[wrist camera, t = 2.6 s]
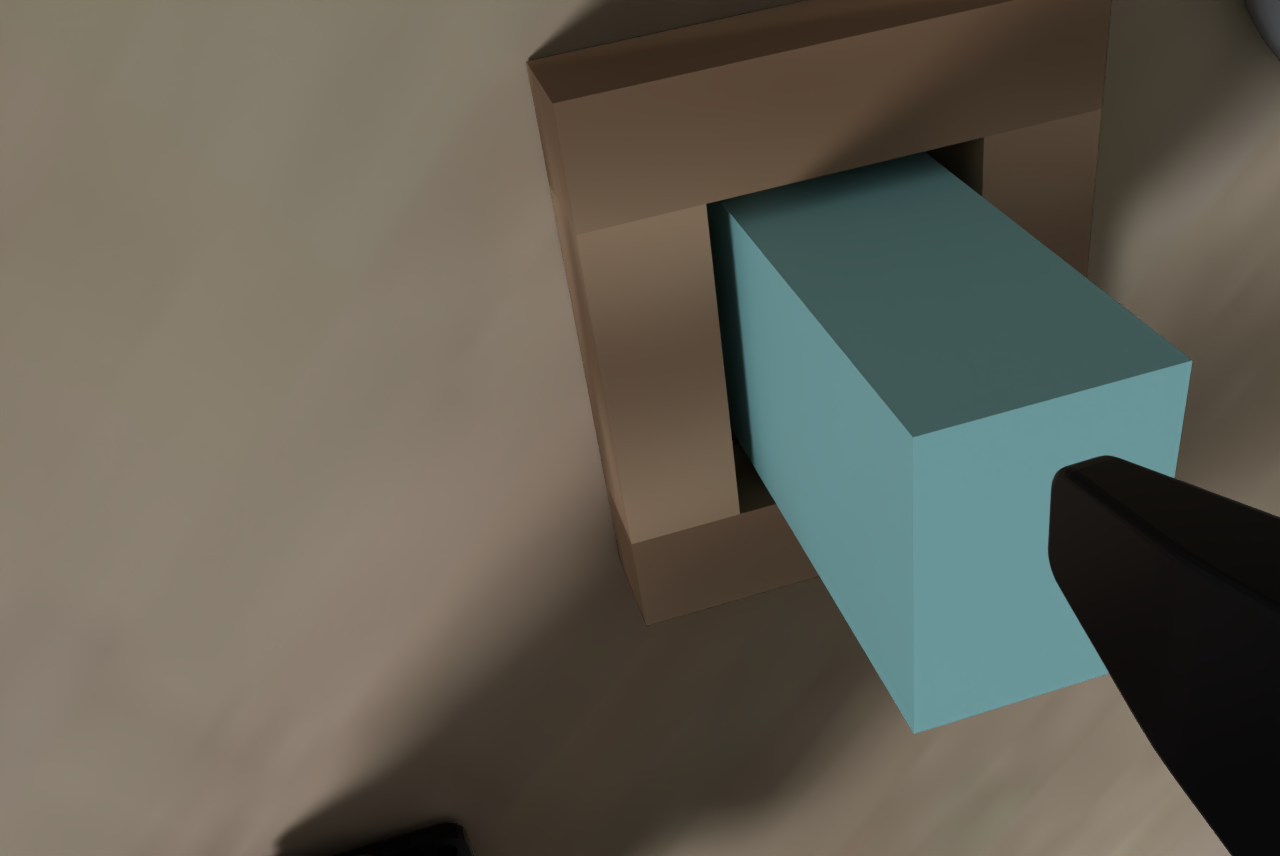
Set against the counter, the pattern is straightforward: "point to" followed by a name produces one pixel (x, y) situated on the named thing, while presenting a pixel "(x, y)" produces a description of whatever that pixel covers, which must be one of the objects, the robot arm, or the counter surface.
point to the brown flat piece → (762, 159)
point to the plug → (931, 417)
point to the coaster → (1267, 21)
